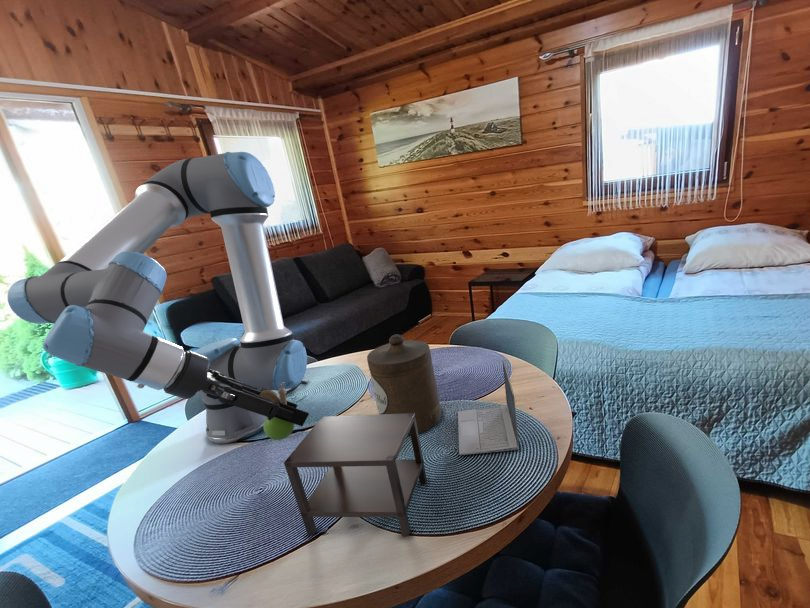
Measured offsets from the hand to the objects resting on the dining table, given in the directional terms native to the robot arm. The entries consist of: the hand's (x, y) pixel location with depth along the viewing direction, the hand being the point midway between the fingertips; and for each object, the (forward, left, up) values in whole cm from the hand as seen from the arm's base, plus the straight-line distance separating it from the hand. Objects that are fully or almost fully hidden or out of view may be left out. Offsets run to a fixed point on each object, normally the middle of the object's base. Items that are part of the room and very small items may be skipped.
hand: (299, 414), depth 85 cm
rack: (+10, +16, -14) cm, 23 cm away
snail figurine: (+3, -2, -3) cm, 5 cm away
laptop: (-14, +35, -14) cm, 40 cm away
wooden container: (-20, +16, -14) cm, 29 cm away
